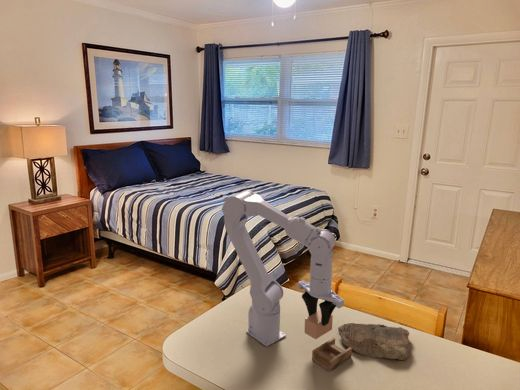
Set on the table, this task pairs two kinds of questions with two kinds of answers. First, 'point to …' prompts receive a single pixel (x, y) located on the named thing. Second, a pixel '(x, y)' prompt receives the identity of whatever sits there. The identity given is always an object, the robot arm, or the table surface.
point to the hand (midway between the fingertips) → (318, 320)
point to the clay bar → (316, 325)
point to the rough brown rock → (376, 340)
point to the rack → (330, 355)
